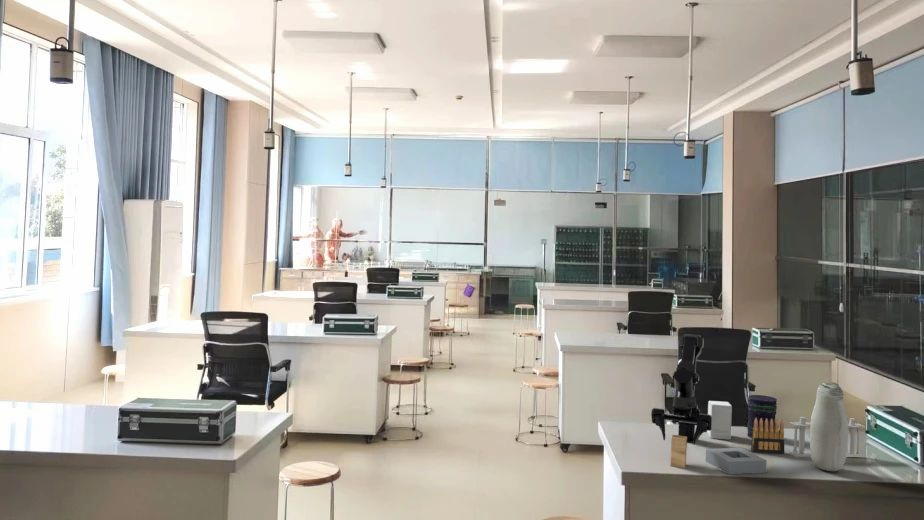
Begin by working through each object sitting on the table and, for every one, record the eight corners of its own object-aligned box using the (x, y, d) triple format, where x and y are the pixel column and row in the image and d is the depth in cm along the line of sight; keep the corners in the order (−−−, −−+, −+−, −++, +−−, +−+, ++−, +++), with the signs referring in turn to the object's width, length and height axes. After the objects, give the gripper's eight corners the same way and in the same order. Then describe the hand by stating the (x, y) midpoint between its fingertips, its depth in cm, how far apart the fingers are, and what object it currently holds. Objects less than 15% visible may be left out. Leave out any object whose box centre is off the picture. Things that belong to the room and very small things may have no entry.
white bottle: (852, 473, 210) (856, 386, 210) (826, 476, 207) (830, 387, 207) (827, 463, 220) (831, 379, 219) (802, 465, 217) (805, 380, 216)
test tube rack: (856, 454, 232) (858, 417, 232) (865, 458, 228) (866, 420, 227) (787, 453, 231) (788, 415, 231) (794, 457, 226) (795, 418, 226)
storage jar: (780, 441, 245) (782, 401, 244) (753, 440, 245) (755, 400, 244) (768, 434, 255) (769, 395, 254) (742, 433, 255) (744, 394, 254)
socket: (705, 460, 219) (706, 448, 219) (741, 459, 221) (741, 447, 221) (728, 474, 206) (729, 461, 206) (766, 472, 208) (766, 460, 208)
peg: (671, 462, 216) (672, 434, 216) (685, 464, 215) (687, 436, 214) (670, 465, 212) (671, 438, 212) (684, 468, 211) (686, 440, 210)
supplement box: (731, 440, 245) (732, 406, 244) (709, 438, 246) (711, 404, 246) (727, 434, 252) (728, 401, 252) (706, 432, 253) (708, 400, 253)
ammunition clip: (782, 452, 231) (783, 418, 231) (784, 454, 229) (786, 419, 229) (750, 450, 232) (752, 416, 232) (752, 452, 230) (754, 418, 230)
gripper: (653, 383, 221) (647, 424, 211) (712, 390, 214) (709, 432, 204) (654, 402, 228) (649, 442, 218) (712, 409, 221) (710, 451, 211)
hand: (679, 441), depth 213 cm, fingers open, 9 cm apart
